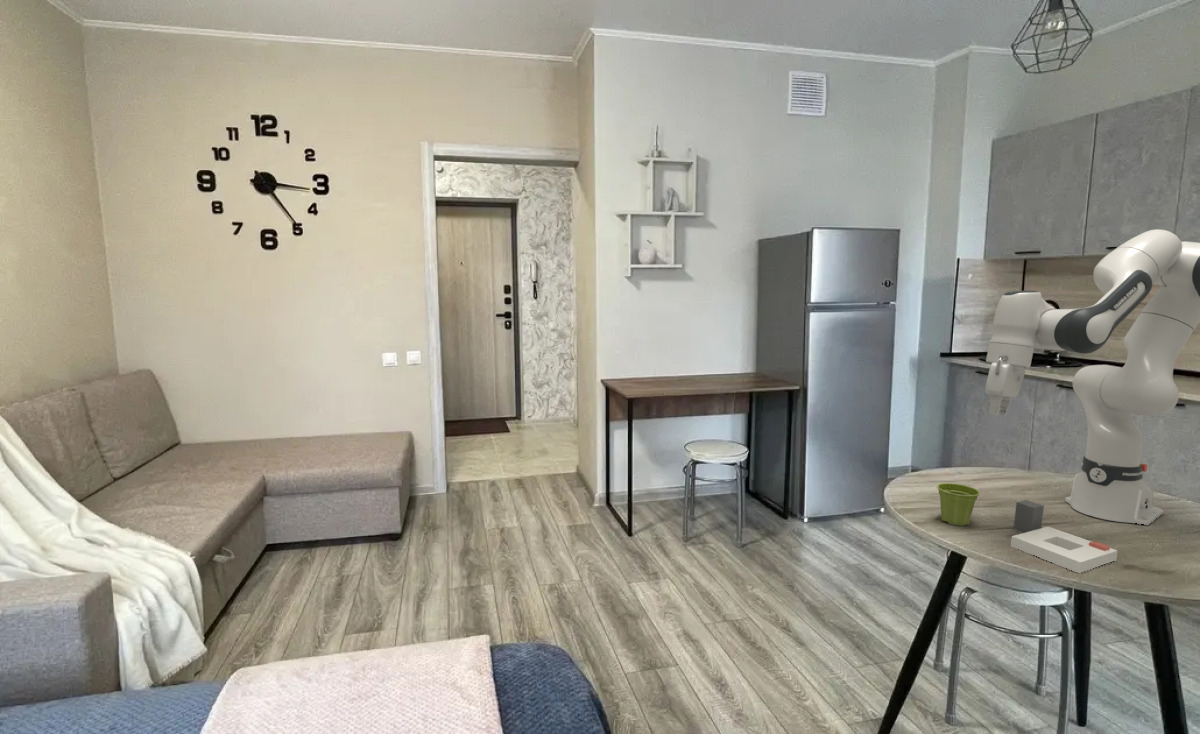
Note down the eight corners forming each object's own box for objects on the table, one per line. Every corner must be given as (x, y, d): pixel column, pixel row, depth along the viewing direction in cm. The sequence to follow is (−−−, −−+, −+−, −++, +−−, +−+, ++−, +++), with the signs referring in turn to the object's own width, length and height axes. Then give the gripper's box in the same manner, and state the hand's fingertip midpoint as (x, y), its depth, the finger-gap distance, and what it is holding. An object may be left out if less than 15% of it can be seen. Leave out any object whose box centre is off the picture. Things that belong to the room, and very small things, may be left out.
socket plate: (1046, 536, 144) (1048, 523, 144) (1116, 561, 132) (1117, 547, 131) (1010, 546, 139) (1012, 533, 138) (1079, 573, 126) (1081, 559, 125)
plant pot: (931, 512, 159) (934, 480, 158) (972, 517, 155) (975, 485, 154) (936, 525, 150) (940, 492, 149) (980, 531, 147) (983, 497, 146)
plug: (1023, 526, 150) (1026, 499, 149) (1040, 532, 146) (1043, 505, 145) (1013, 529, 148) (1016, 502, 147) (1030, 535, 145) (1033, 507, 144)
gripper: (1017, 356, 132) (1005, 417, 133) (1031, 362, 147) (1020, 417, 148) (984, 352, 136) (972, 412, 137) (1001, 358, 151) (990, 411, 152)
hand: (997, 414), depth 143 cm, fingers open, 8 cm apart
